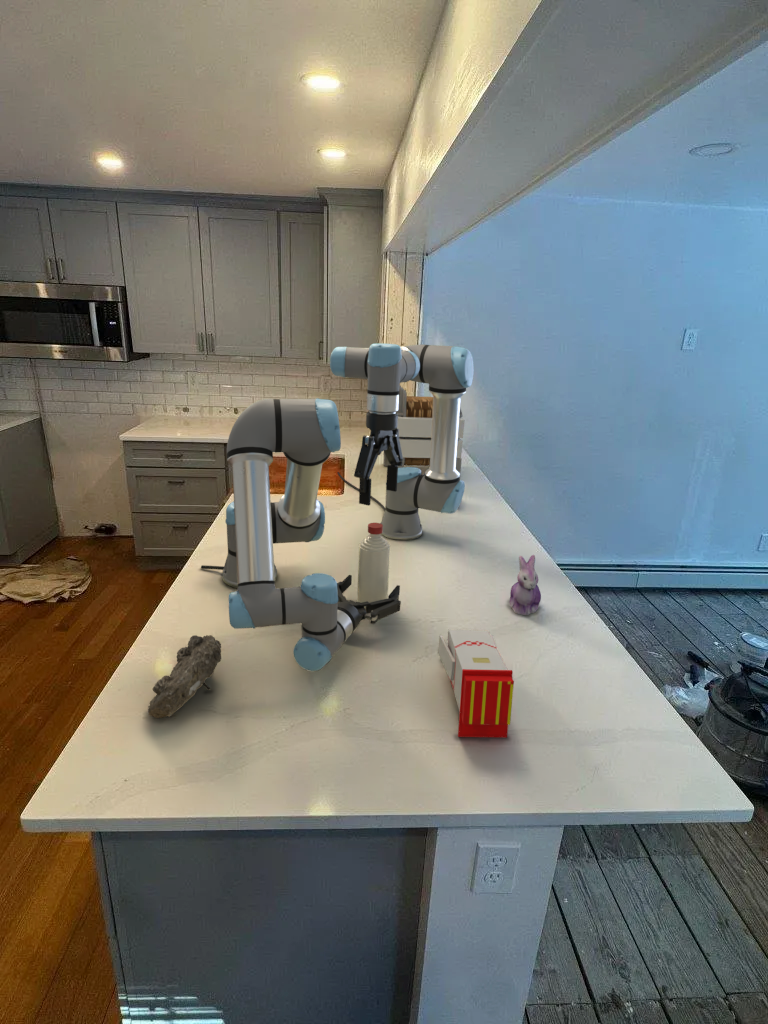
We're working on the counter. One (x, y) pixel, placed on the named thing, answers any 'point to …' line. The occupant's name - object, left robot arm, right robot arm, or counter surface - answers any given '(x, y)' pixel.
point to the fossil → (186, 675)
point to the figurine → (525, 588)
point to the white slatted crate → (419, 430)
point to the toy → (478, 682)
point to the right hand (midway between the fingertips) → (378, 497)
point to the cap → (375, 528)
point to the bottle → (373, 569)
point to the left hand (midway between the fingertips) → (374, 584)
